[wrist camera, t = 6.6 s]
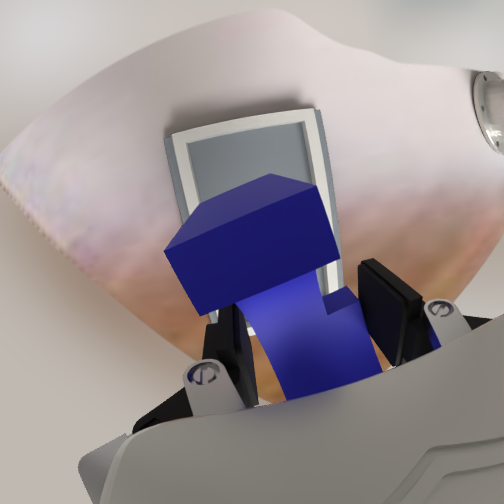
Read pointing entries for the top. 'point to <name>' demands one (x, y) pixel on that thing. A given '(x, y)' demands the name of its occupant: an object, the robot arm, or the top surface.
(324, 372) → the blue long irregular block
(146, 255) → the top surface
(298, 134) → the shallow rectangular tray
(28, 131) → the top surface
